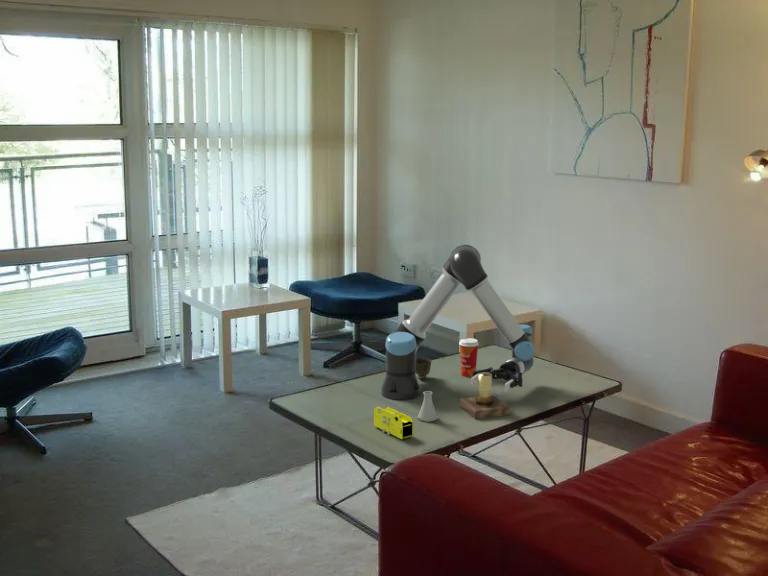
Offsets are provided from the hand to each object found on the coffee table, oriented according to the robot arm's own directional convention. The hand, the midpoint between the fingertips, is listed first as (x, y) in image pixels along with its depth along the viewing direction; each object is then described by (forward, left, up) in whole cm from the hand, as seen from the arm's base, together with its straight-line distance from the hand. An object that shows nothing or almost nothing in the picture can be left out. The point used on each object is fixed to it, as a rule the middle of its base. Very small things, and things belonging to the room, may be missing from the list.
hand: (488, 384), depth 314 cm
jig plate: (-2, -1, -10) cm, 10 cm away
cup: (-10, +42, -10) cm, 44 cm away
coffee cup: (+10, +40, -10) cm, 42 cm away
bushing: (-2, -1, -10) cm, 10 cm away
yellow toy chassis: (-41, -10, -10) cm, 44 cm away
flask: (-25, -2, -10) cm, 27 cm away
